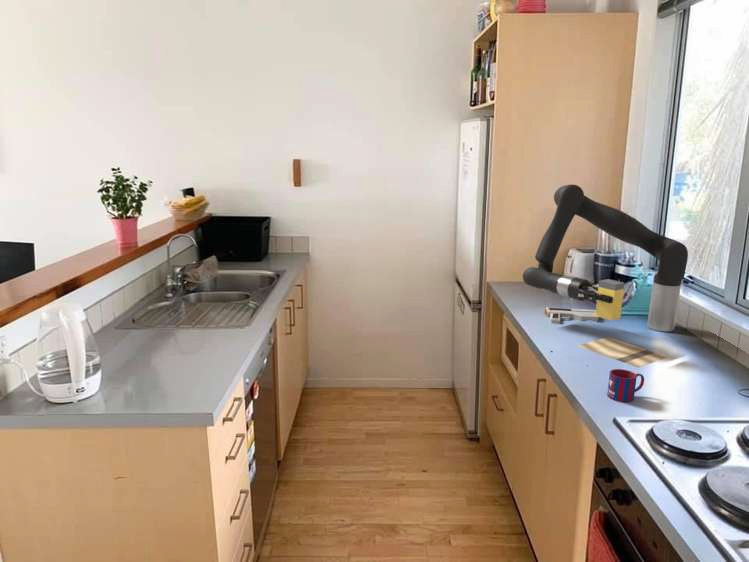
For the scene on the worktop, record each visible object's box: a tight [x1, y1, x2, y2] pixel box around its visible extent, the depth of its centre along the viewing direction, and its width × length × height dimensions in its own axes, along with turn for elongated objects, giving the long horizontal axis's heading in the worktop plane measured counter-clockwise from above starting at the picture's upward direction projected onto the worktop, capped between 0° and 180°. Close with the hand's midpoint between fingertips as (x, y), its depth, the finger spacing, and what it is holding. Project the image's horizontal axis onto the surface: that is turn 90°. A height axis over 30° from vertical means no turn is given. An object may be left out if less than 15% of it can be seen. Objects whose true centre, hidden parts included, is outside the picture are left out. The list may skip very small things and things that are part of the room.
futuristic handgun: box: [544, 306, 600, 325], centre depth 229 cm, size 3×20×15 cm
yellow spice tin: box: [595, 278, 625, 321], centre depth 193 cm, size 5×6×12 cm
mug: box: [606, 368, 645, 403], centre depth 159 cm, size 7×10×7 cm
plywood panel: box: [577, 336, 669, 368], centre depth 191 cm, size 17×22×1 cm
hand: (617, 299), depth 191 cm, fingers closed on yellow spice tin, 5 cm apart
